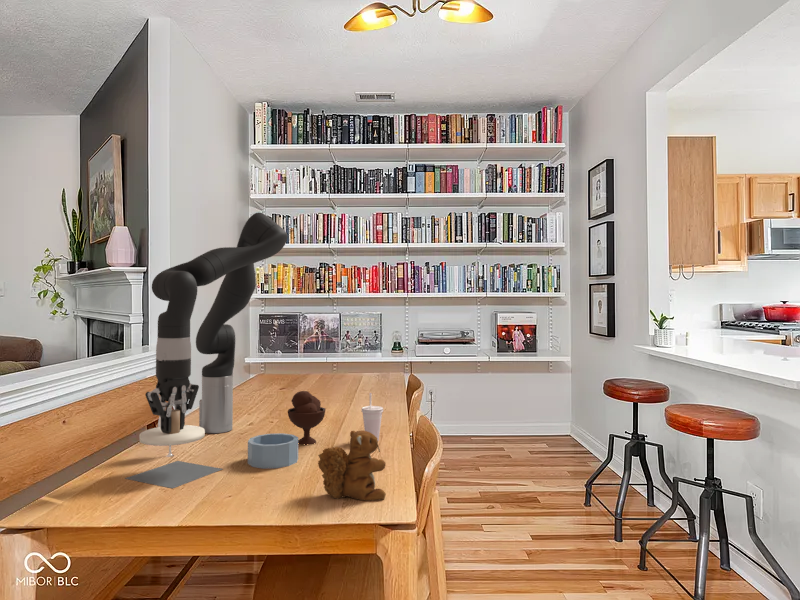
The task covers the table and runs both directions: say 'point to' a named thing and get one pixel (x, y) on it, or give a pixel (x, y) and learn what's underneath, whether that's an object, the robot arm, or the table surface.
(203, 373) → the robot arm
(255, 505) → the table surface
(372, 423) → the smoothie
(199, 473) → the mat
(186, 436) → the lid
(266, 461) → the bowl
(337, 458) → the stuffed squirrel
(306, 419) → the ice cream bowl
